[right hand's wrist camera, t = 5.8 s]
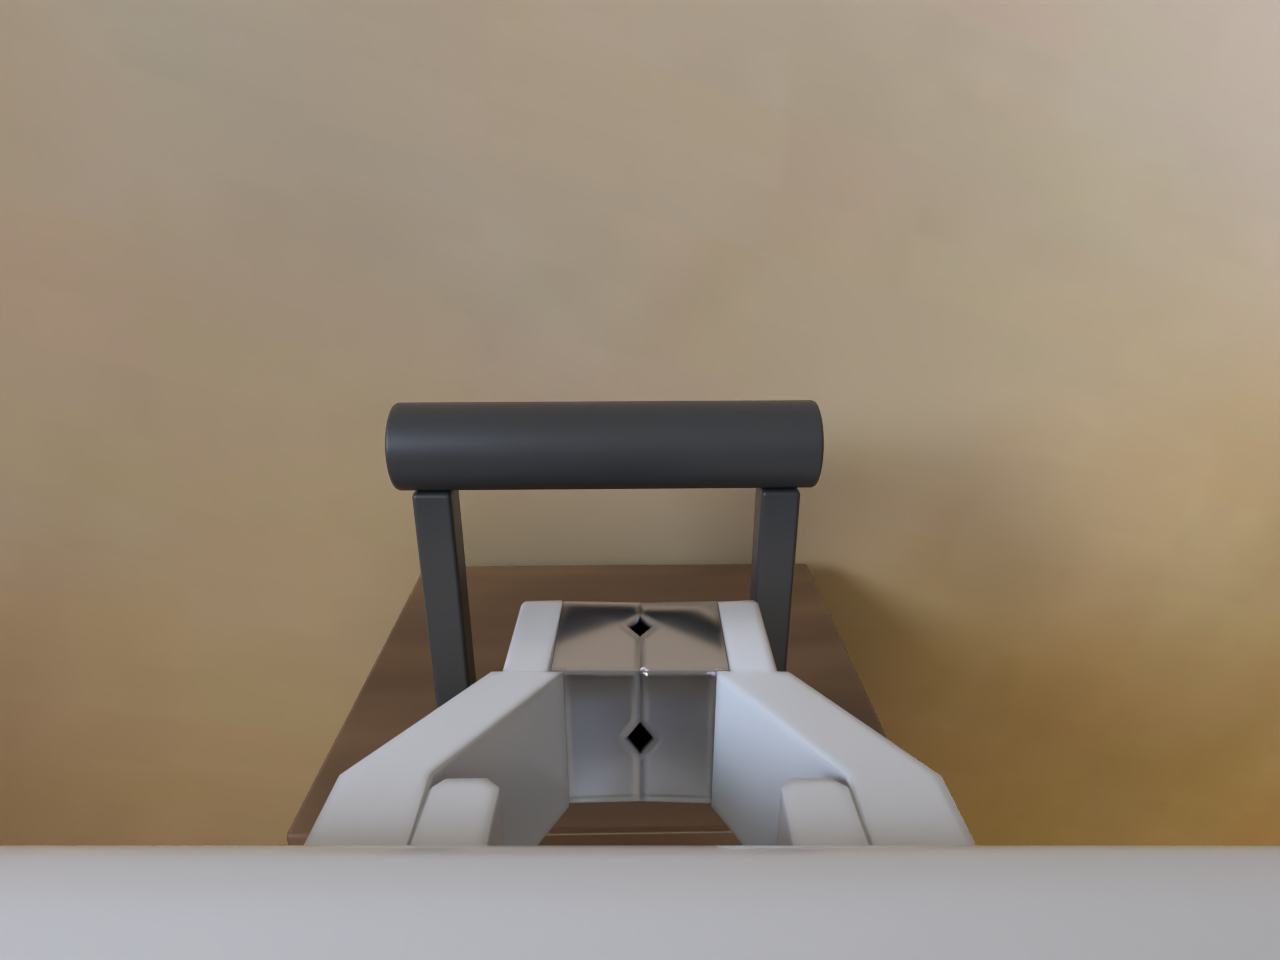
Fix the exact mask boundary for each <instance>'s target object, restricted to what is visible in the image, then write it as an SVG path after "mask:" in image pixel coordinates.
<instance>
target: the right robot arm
mask: <svg viewBox="0 0 1280 960" xmlns="http://www.w3.org/2000/svg"><path fill="white" fill-rule="evenodd" d="M624 801H654V802H690V803H711V806H712V808H713V809H714V810H715V811H716V813H717V814H718V815H719V816H720V818H721V819H722V820H723V821H724V823H725V824H726V825H727V826H728V828H729V829H730V830H731V831H732V833H733V834H734V835H735V836H736V838H737V839H738V840H739V841H740V843H741V844H742V845H603V846H538V844H539V843H540V842H541V841H542V840H543V838H544V837H545V836H546V835H547V833H548V832H549V831H550V830H551V828H552V827H553V826H554V825H555V823H556V822H557V821H558V820H559V818H560V817H561V816H562V815H563V813H564V812H565V811H566V810H567V809H568V807H569V803H589V802H624ZM0 960H1280V845H976V844H975V842H974V840H973V838H972V836H971V834H970V832H969V830H968V828H967V826H966V824H965V822H964V820H963V818H962V816H961V814H960V812H959V810H958V808H957V806H956V804H955V802H954V800H953V798H952V796H951V794H950V792H949V790H948V788H947V786H946V784H945V782H944V780H943V778H942V776H941V775H939V774H938V773H936V772H935V771H933V770H932V769H930V768H929V767H927V766H926V765H924V764H923V763H922V762H920V761H919V760H917V759H916V758H914V757H913V756H911V755H910V754H908V753H907V752H905V751H904V750H903V749H901V748H900V747H898V746H897V745H895V744H894V743H892V742H891V741H889V740H888V739H886V738H885V737H883V736H882V735H881V734H879V733H878V732H876V731H875V730H873V729H872V728H870V727H869V726H867V725H866V724H864V723H863V722H862V721H860V720H859V719H857V718H856V717H854V716H853V715H851V714H850V713H848V712H847V711H845V710H844V709H842V708H841V707H840V706H838V705H837V704H835V703H834V702H832V701H831V700H829V699H828V698H826V697H825V696H823V695H822V694H821V693H819V692H818V691H816V690H815V689H813V688H812V687H810V686H809V685H807V684H806V683H804V682H803V681H802V680H800V679H799V678H797V677H796V676H794V675H793V674H791V673H790V672H779V671H777V669H776V665H775V662H774V658H773V654H772V651H771V647H770V644H769V640H768V637H767V633H766V630H765V626H764V623H763V619H762V616H761V612H760V609H759V605H758V603H757V602H756V601H754V600H745V601H722V602H717V601H705V602H664V603H640V602H587V601H565V602H564V603H563V602H562V601H561V600H553V601H525V602H524V603H523V604H522V605H521V608H520V611H519V615H518V618H517V622H516V626H515V629H514V633H513V636H512V640H511V644H510V647H509V651H508V654H507V658H506V661H505V665H504V669H503V671H501V672H490V673H489V674H487V675H486V676H484V677H483V678H481V679H480V680H478V681H477V682H476V683H474V684H473V685H471V686H470V687H468V688H467V689H465V690H464V691H462V692H461V693H459V694H458V695H456V696H455V697H453V698H452V699H451V700H449V701H448V702H446V703H445V704H443V705H442V706H440V707H439V708H437V709H436V710H434V711H433V712H431V713H430V714H428V715H427V716H426V717H424V718H423V719H421V720H420V721H418V722H417V723H415V724H414V725H412V726H411V727H409V728H408V729H406V730H405V731H403V732H402V733H401V734H399V735H398V736H396V737H395V738H393V739H392V740H390V741H389V742H387V743H386V744H384V745H383V746H381V747H380V748H378V749H377V750H376V751H374V752H373V753H371V754H370V755H368V756H367V757H365V758H364V759H362V760H361V761H359V762H358V763H356V764H355V765H353V766H352V767H351V768H349V769H348V770H346V771H345V772H343V773H342V774H340V775H339V777H338V779H337V781H336V783H335V785H334V787H333V789H332V791H331V793H330V795H329V797H328V799H327V801H326V802H325V804H324V806H323V808H322V810H321V812H320V814H319V816H318V818H317V820H316V822H315V824H314V826H313V828H312V830H311V832H310V834H309V836H308V838H307V840H306V842H305V844H304V845H7V846H0Z"/></svg>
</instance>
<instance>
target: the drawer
mask: <svg viewBox="0 0 1280 960" xmlns="http://www.w3.org/2000/svg"><path fill="white" fill-rule="evenodd" d="M823 451H824V435H823V424H822V418H821V414H820V410H819V407H818V405H817V404H816V402H814V401H811V400H786V401H613V402H441V403H397V404H395V405H394V406H393V407H392V409H391V411H390V413H389V416H388V420H387V426H386V434H385V454H386V463H387V468H388V473H389V476H390V479H391V482H392V484H393V485H394V487H395V488H396V489H398V490H416V491H415V493H414V494H413V497H412V498H413V507H414V516H415V524H416V533H417V541H418V550H419V559H420V567H421V575H420V577H419V579H418V581H417V583H416V585H415V587H414V589H413V591H412V592H411V594H410V596H409V598H408V600H407V602H406V604H405V606H404V608H403V610H402V612H401V614H400V616H399V618H398V620H397V622H396V624H395V625H394V627H393V629H392V631H391V633H390V635H389V637H388V639H387V641H386V643H385V645H384V647H383V649H382V651H381V653H380V655H379V657H378V658H377V660H376V662H375V664H374V666H373V668H372V670H371V672H370V674H369V676H368V678H367V680H366V682H365V684H364V686H363V688H362V690H361V691H360V693H359V695H358V697H357V699H356V701H355V703H354V705H353V707H352V709H351V711H350V713H349V715H348V717H347V719H346V721H345V723H344V724H343V726H342V728H341V730H340V732H339V734H338V736H337V738H336V740H335V742H334V744H333V746H332V748H331V750H330V752H329V754H328V756H327V757H326V759H325V761H324V763H323V765H322V767H321V769H320V771H319V773H318V775H317V777H316V779H315V781H314V783H313V785H312V787H311V789H310V790H309V792H308V794H307V796H306V798H305V800H304V802H303V804H302V806H301V808H300V810H299V812H298V814H297V816H296V818H295V820H294V822H293V823H292V825H291V827H290V829H289V831H288V834H287V841H288V845H304V844H305V842H306V840H307V838H308V836H309V834H310V832H311V830H312V828H313V826H314V824H315V822H316V820H317V818H318V816H319V814H320V812H321V810H322V808H323V806H324V804H325V802H326V801H327V799H328V797H329V795H330V793H331V791H332V789H333V787H334V785H335V783H336V781H337V779H338V777H339V775H340V774H342V773H343V772H345V771H346V770H348V769H349V768H351V767H352V766H353V765H355V764H356V763H358V762H359V761H361V760H362V759H364V758H365V757H367V756H368V755H370V754H371V753H373V752H374V751H376V750H377V749H378V748H380V747H381V746H383V745H384V744H386V743H387V742H389V741H390V740H392V739H393V738H395V737H396V736H398V735H399V734H401V733H402V732H403V731H405V730H406V729H408V728H409V727H411V726H412V725H414V724H415V723H417V722H418V721H420V720H421V719H423V718H424V717H426V716H427V715H428V714H430V713H431V712H433V711H434V710H436V709H437V708H439V707H440V706H442V705H443V704H445V703H446V702H448V701H449V700H451V699H452V698H453V697H455V696H456V695H458V694H459V693H461V692H462V691H464V690H465V689H467V688H468V687H470V686H471V685H473V684H474V683H476V682H477V681H478V680H480V679H481V678H483V677H484V676H486V675H487V674H489V673H490V672H501V671H503V669H504V665H505V661H506V658H507V654H508V651H509V647H510V644H511V640H512V636H513V633H514V629H515V626H516V622H517V618H518V615H519V611H520V608H521V605H522V604H523V603H524V602H525V601H553V600H561V601H562V602H563V603H564V602H565V601H587V602H640V603H664V602H705V601H717V602H722V601H745V600H754V601H756V602H757V603H758V605H759V609H760V612H761V616H762V619H763V623H764V626H765V630H766V633H767V637H768V640H769V644H770V647H771V651H772V654H773V658H774V662H775V665H776V669H777V671H779V672H790V673H791V674H793V675H794V676H796V677H797V678H799V679H800V680H802V681H803V682H804V683H806V684H807V685H809V686H810V687H812V688H813V689H815V690H816V691H818V692H819V693H821V694H822V695H823V696H825V697H826V698H828V699H829V700H831V701H832V702H834V703H835V704H837V705H838V706H840V707H841V708H842V709H844V710H845V711H847V712H848V713H850V714H851V715H853V716H854V717H856V718H857V719H859V720H860V721H862V722H863V723H864V724H866V725H867V726H869V727H870V728H872V729H873V730H875V731H876V732H878V733H879V734H881V735H882V736H883V737H885V738H886V739H887V737H886V735H885V733H884V731H883V729H882V727H881V724H880V722H879V720H878V718H877V716H876V714H875V711H874V709H873V707H872V705H871V703H870V701H869V698H868V696H867V694H866V692H865V690H864V688H863V686H862V683H861V681H860V679H859V677H858V675H857V673H856V670H855V668H854V666H853V664H852V662H851V660H850V657H849V655H848V653H847V651H846V649H845V647H844V644H843V642H842V640H841V638H840V636H839V634H838V632H837V629H836V627H835V625H834V623H833V621H832V619H831V616H830V614H829V612H828V610H827V608H826V606H825V603H824V601H823V599H822V597H821V595H820V593H819V591H818V588H817V586H816V584H815V582H814V580H813V578H812V575H811V573H810V571H809V569H808V567H807V565H806V564H795V553H796V540H797V528H798V515H799V503H800V493H799V490H798V488H797V487H813V486H815V485H816V484H817V482H818V480H819V477H820V473H821V469H822V463H823ZM660 488H756V500H755V517H754V535H753V552H752V564H735V565H623V566H510V567H466V566H465V556H464V545H463V534H462V523H461V513H460V502H459V491H458V490H526V489H660ZM603 845H742V844H741V843H740V841H739V840H738V839H737V838H736V836H735V835H734V834H733V833H732V831H731V830H730V829H729V828H728V826H727V825H726V824H725V823H724V821H723V820H722V819H721V818H720V816H719V815H718V814H717V813H716V811H715V810H714V809H713V808H712V806H711V803H690V802H654V801H624V802H589V803H569V807H568V809H567V810H566V811H565V812H564V813H563V815H562V816H561V817H560V818H559V820H558V821H557V822H556V823H555V825H554V826H553V827H552V828H551V830H550V831H549V832H548V833H547V835H546V836H545V837H544V838H543V840H542V841H541V842H540V843H539V844H538V846H603Z"/></svg>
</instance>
